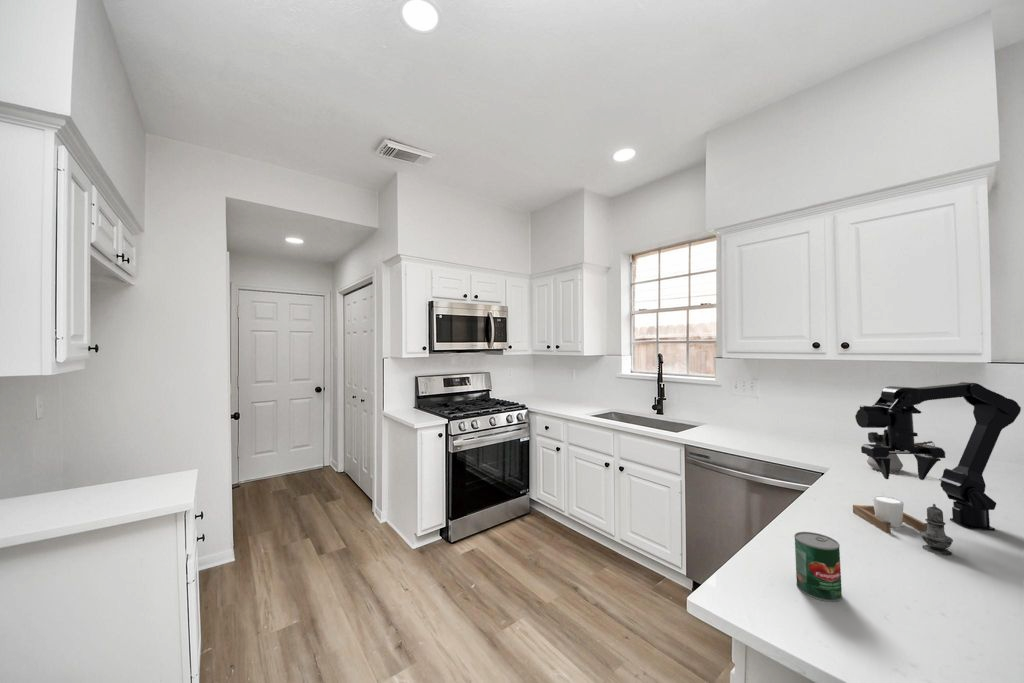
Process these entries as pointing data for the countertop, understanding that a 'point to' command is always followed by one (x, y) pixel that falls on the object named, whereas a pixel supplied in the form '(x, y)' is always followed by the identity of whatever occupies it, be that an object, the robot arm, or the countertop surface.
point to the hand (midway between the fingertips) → (903, 479)
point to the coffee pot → (892, 460)
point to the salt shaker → (936, 533)
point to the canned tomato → (818, 566)
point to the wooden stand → (869, 516)
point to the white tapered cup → (889, 510)
